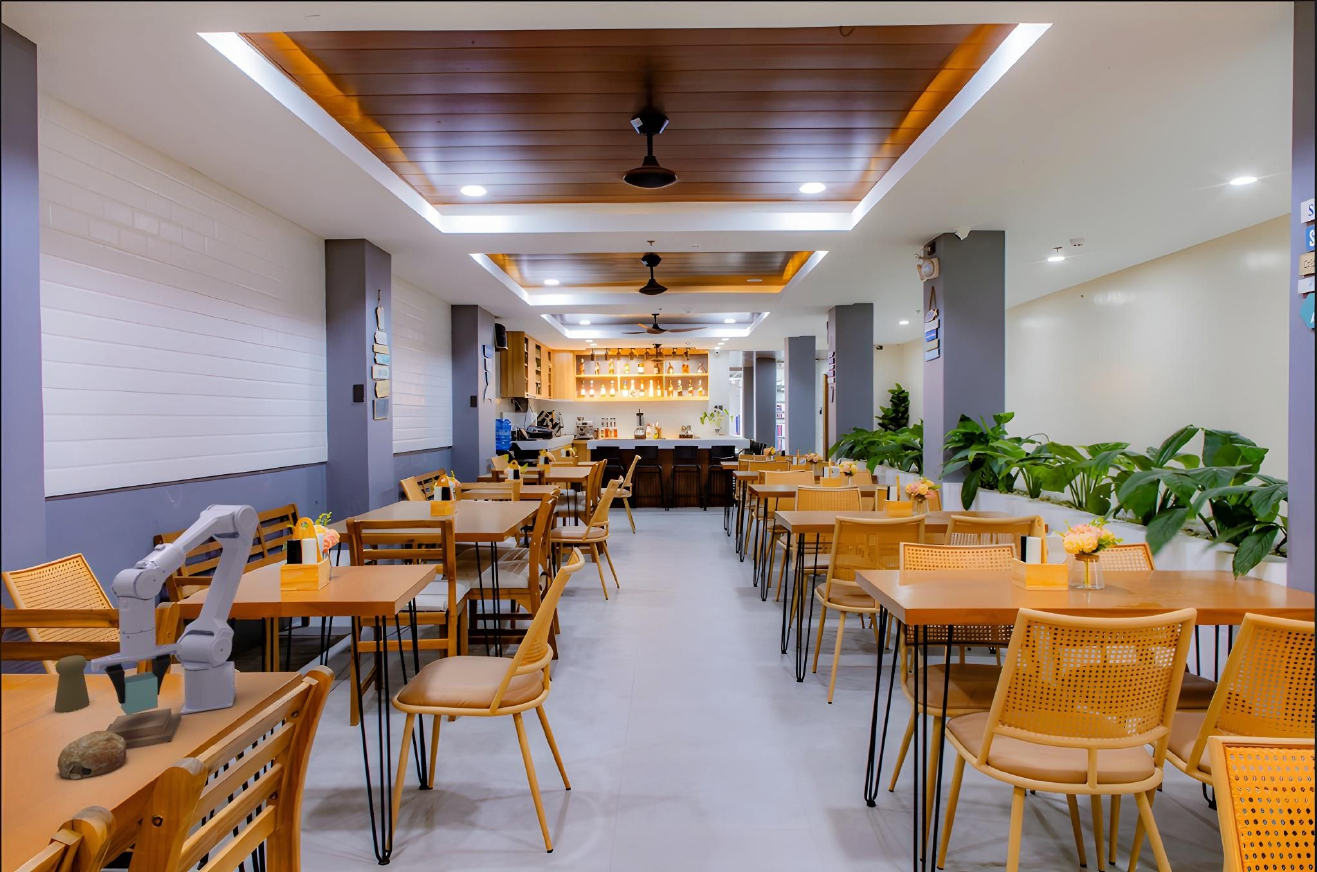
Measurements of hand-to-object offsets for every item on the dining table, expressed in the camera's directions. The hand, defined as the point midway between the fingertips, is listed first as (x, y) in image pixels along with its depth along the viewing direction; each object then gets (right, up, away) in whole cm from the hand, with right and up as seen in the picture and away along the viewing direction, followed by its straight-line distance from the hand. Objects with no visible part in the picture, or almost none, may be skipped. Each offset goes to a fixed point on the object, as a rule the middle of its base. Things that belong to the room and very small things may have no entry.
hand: (139, 698), depth 142 cm
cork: (-25, -8, +15) cm, 30 cm away
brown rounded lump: (+1, -8, -12) cm, 15 cm away
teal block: (0, -2, 0) cm, 2 cm away
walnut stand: (0, -7, 0) cm, 7 cm away
